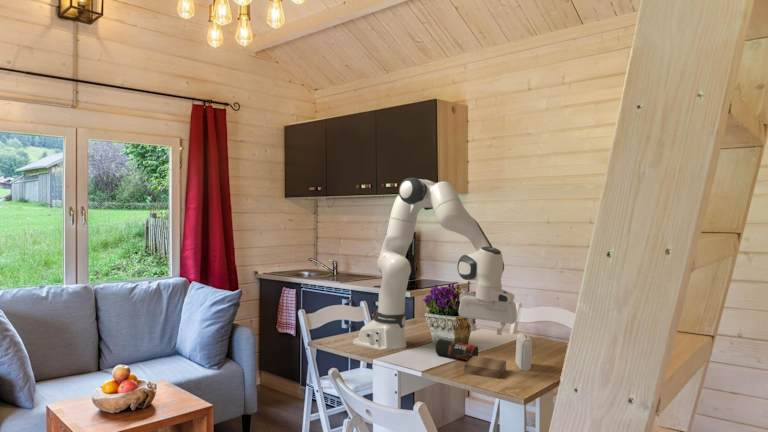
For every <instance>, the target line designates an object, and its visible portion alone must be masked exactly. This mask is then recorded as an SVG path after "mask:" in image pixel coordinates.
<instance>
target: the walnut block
mask: <svg viewBox="0 0 768 432" xmlns="http://www.w3.org/2000/svg"><path fill="white" fill-rule="evenodd" d="M506 370H507V361H506V360H501V359H498V358H497V359H496V358H492V357H491V358H490V357H484V356H479V355H478V356H473V357H472V358H471V359H470V360H469V361H465V363H464V369H463V372H464V373H463V375H471V376H480V377H484V378H490V379H491V378H492V379H500V378H501V376H502V375H503V374H504V373H505V372H506Z"/></svg>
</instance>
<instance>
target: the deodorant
mask: <svg viewBox="0 0 768 432" xmlns="http://www.w3.org/2000/svg"><path fill="white" fill-rule="evenodd" d="M435 354H437V355H438V356H444V357H448V358H453V359H458V360H461V361H465V362H468V361H469V360H470V359H471V358H472V357H473V356H479V348H478V346H477V345H472V344H467V343H463V342H457V341H452V340H449V339H448V340H447V339H446V340H445V339H441V338H439V339H438V340H437V342H436V344H435Z"/></svg>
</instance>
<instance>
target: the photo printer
mask: <svg viewBox="0 0 768 432" xmlns="http://www.w3.org/2000/svg"><path fill="white" fill-rule="evenodd" d="M515 344H516V347H515V360H514V361H515V365H516V366H517V367H518V369H519V370H521V371H524V372H529V371H531V370H532V369H531V368H532V354H533V353H532V352H533V341H532V338H531V337H530V336H529V334H528V333H526V332H520V333H518V334H517V336H516V343H515Z"/></svg>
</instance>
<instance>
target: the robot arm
mask: <svg viewBox="0 0 768 432" xmlns="http://www.w3.org/2000/svg"><path fill="white" fill-rule="evenodd" d="M422 209H424V210H425V211H428V210H433V212H434V215H435V218H436V220H437V221H438V223H439V224H440V226H441V227H442V228H443V229H446V230H447V231H450V232H452V233H456V234H459V235H462V236H464V237H465V238H467V239H468V240H469V241H470V243H471V244H472V246H473V248H474V249H475V251H474V252H471V253H467V254H463V255H461V256H460V258H459V259H458V262H457V273H458V275H459V277H461V278H462V279H463V280H465V281H476V282H475V284H476V286H475V291H468V290H463V291H461V292H460V293H459V307H458V315H459V317H460V318H462V317H463V318H466V319H467V322H468V324H469V325H470V331H472V332H475V331H476V330H477V326H476V325H475V324H474V322H473V321H474V319H476V320H484V321H490V322H495V323H496V322H497V323H500V328H497V329H496V335H498V336H502V335H503V329H504V328H505V326H506V325H507V324H510V325H513V324H515V323H516V322H517V317H518V316H517V314H518V313H517V304H516V302H515V294H514V293H511V292H510V291H507V290H504V289H502V287H503V285H502V277H503V273H504V272H505V271H504V270H505V263H504V259H503V253H502V251H501V250H500V249H499V248H496V247H494V246H493V245H492V244H491V242H490V240H489V239H488V237H487V235H486V234H485V232H484V230H483V229H482V227H481V225H479V223H478V221H477V220H476V219H475V218H474V217H472V216H471V215H470V213H468V211H467V209H466V208H465V206H464V205H463V203H462V200H461V198H460V197H459V194H458V193H457V191H456V189H455V188H454V187H453V185H452V184H451V183H449V182H448V181H438V182H435V181H432V180H428V179H422V178H417V177H407V178H405V179H403V181H401V183H400V185H399V187H398V195H397V196H396V197H395V200H394V202H393V205H392V208H391V211H390V215H389V216H390V217H389V220H388V225H387V231H386V234H385V237H384V239H383V244H382V246H381V248H380V253H379V256H378V257H377V260H376V266H377V269H378V272H380V274H382V276H381V283H380V289H379V292H378V299H377V300H378V303H377V310H376V311H374V312H373V313H372V315H371V316H372V317H373V319H372V320H370V321H369V322H367V323H366V324H365V325H363V326H362V327H361V328H360V330H359V334H358V337H355V338H354V339H353V341H352V344H353V345H355V346H360V347H364V348H370V349H375V350H379V351H380V350H381V351H385V350H400V349H401V350H402V349H405V348H407V342H406V341H407V340H406V336H405V334H406V333H405V326H406V312H405V306H406V294H407V293H406V292H407V288H408V284H409V278H410V275H411V273H412V267H411V263H410V261H409V259H407V258H406V257H407V253H408V250H409V248H410V246H411V244H412V242H413V239H414V235H415V231H416V230H415V228H416V226H417V220H418V215H419V212H420V211H421V210H422Z"/></svg>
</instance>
